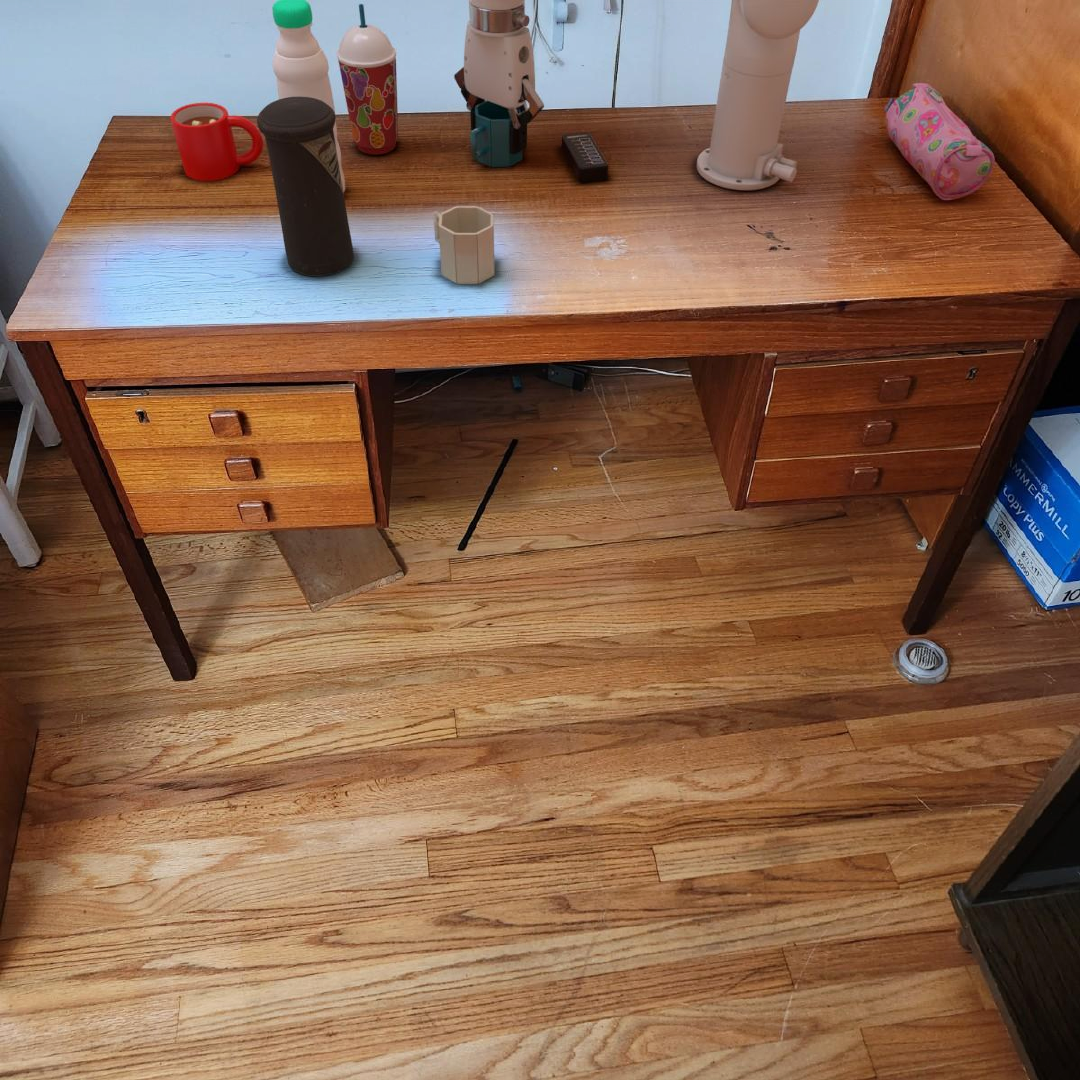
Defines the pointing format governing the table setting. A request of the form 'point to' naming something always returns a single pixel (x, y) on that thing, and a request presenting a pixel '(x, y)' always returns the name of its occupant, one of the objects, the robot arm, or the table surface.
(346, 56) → the smoothie
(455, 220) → the cup near
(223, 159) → the mug
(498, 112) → the cup far
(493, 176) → the table surface
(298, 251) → the container
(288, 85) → the water bottle
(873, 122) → the table surface
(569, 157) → the multiport hub
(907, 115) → the pencil case
